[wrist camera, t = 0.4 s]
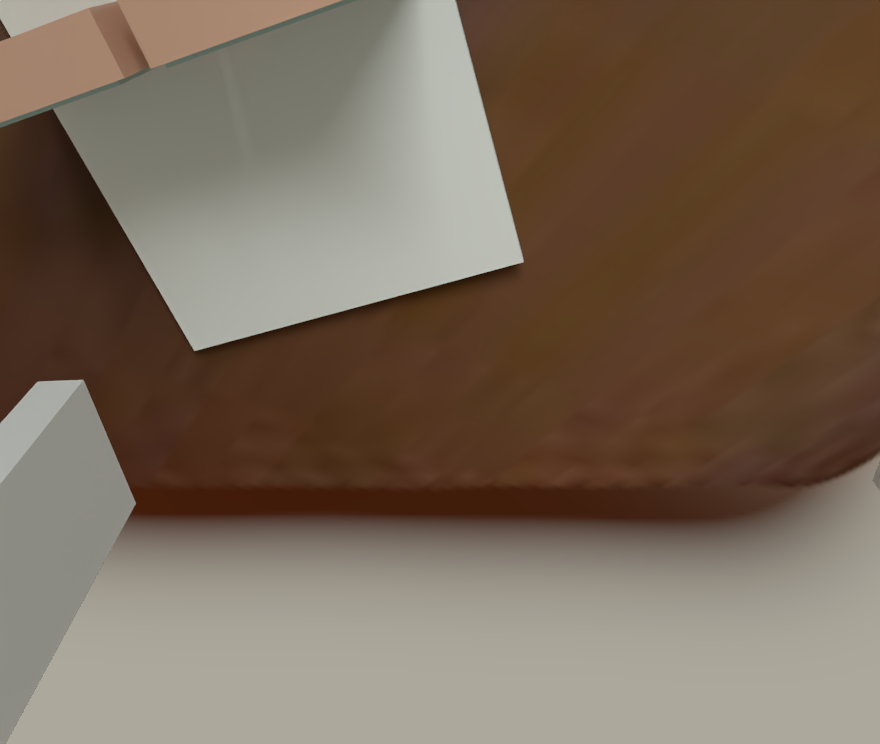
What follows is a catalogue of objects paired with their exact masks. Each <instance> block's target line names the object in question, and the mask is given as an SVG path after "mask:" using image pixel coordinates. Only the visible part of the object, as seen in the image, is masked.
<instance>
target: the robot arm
mask: <svg viewBox="0 0 880 744" xmlns="http://www.w3.org/2000/svg"><path fill="white" fill-rule="evenodd" d="M873 482H874V483H875V484H876V486H877V487H878V489H879V490H880V462H879V465H878V468H877V470H876V473H875V476H874V478H873ZM135 504H136V503H135V500H134V498H133V496H132V493H131V491H130V489H129V486H128V484H127V481H126V479H125V477H124V474H123V472H122V470H121V467H120V465H119V463H118V460H117V458H116V456H115V453H114V451H113V448H112V446H111V444H110V441H109V439H108V437H107V434H106V432H105V430H104V427H103V425H102V423H101V420H100V418H99V415H98V413H97V411H96V408H95V406H94V404H93V401H92V399H91V397H90V394H89V392H88V389H87V387H86V385H85V382H84V380H66V381H42V382H37V383H36V384H35V385H34V386H33V387H32V388H31V390H30V391H29V392H28V393H27V394H26V395H25V396H24V397H23V399H22V400H21V401H20V402H19V403H18V404H17V405H16V406H15V408H14V409H13V410H12V411H11V412H10V413H9V414H8V415H7V416H6V418H5V419H4V420H3V421H2V422H1V423H0V744H6V742H7V740H8V739H9V737H10V735H11V733H12V731H13V729H14V727H15V726H16V724H17V722H18V720H19V718H20V716H21V715H22V713H23V711H24V709H25V707H26V705H27V703H28V701H29V700H30V698H31V696H32V694H33V692H34V691H35V689H36V687H37V685H38V683H39V681H40V680H41V678H42V676H43V674H44V672H45V670H46V668H47V667H48V665H49V663H50V661H51V659H52V657H53V656H54V654H55V652H56V650H57V648H58V646H59V644H60V643H61V641H62V639H63V637H64V635H65V633H66V632H67V630H68V628H69V626H70V624H71V622H72V620H73V619H74V617H75V615H76V613H77V611H78V609H79V607H80V606H81V604H82V602H83V600H84V598H85V596H86V595H87V593H88V591H89V589H90V587H91V585H92V583H93V582H94V580H95V578H96V575H97V574H98V572H99V570H100V569H101V567H102V565H103V563H104V561H105V559H106V558H107V556H108V553H109V552H110V550H111V548H112V546H113V545H114V543H115V541H116V539H117V537H118V535H119V533H120V532H121V530H122V528H123V526H124V524H125V522H126V521H127V519H128V517H129V515H130V513H131V512H132V509H133V507H134V506H135Z"/></svg>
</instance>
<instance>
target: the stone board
mask: <svg viewBox="0 0 880 744" xmlns="http://www.w3.org/2000/svg"><path fill="white" fill-rule="evenodd" d="M116 1H117V0H0V19H1V21H2V23H3V24H4V26H5V28H6V30H7V31H8V33H9V35H10V36H11V37H14V36H16V35H19V34H21V33H24V32H27V31H29V30H32V29H34V28H37V27H40V26H42V25H45V24H47V23H50V22H53V21H55V20H58V19H61V18H63V17H66V16H68V15H71V14H74V13H76V12H79V11H81V10H84V9H87V8H90V7H94V6H99V5H103V4H107V3H112V2H116ZM53 110H54V112H55V113H56V115H57V117H58V119H59V120H60V122H61V124H62V125H63V127H64V129H65V130H66V132H67V134H68V136H69V137H70V139H71V141H72V142H73V144H74V146H75V148H76V149H77V151H78V153H79V154H80V156H81V158H82V160H83V161H84V163H85V165H86V166H87V168H88V170H89V172H90V173H91V175H92V177H93V178H94V180H95V182H96V184H97V185H98V187H99V189H100V190H101V192H102V194H103V196H104V197H105V199H106V201H107V202H108V204H109V206H110V208H111V209H112V211H113V213H114V214H115V216H116V218H117V220H118V221H119V223H120V225H121V226H122V228H123V230H124V231H125V233H126V235H127V237H128V238H129V240H130V242H131V243H132V245H133V247H134V249H135V250H136V252H137V254H138V255H139V257H140V259H141V261H142V262H143V264H144V266H145V267H146V269H147V271H148V273H149V274H150V276H151V278H152V279H153V281H154V283H155V285H156V286H157V288H158V290H159V291H160V293H161V295H162V297H163V298H164V300H165V302H166V303H167V305H168V307H169V309H170V310H171V312H172V314H173V315H174V317H175V319H176V320H177V322H178V324H179V326H180V327H181V329H182V331H183V332H184V334H185V336H186V338H187V339H188V341H189V343H190V344H191V346H192V348H193V350H194V351H197V350H200V349H204V348H208V347H211V346H215V345H219V344H223V343H226V342H230V341H234V340H237V339H241V338H245V337H248V336H252V335H256V334H260V333H263V332H267V331H271V330H274V329H278V328H282V327H285V326H289V325H293V324H297V323H300V322H304V321H308V320H311V319H315V318H319V317H322V316H326V315H330V314H334V313H337V312H341V311H345V310H348V309H352V308H356V307H360V306H363V305H367V304H371V303H374V302H378V301H382V300H385V299H389V298H393V297H397V296H400V295H404V294H408V293H411V292H415V291H419V290H422V289H426V288H430V287H434V286H437V285H441V284H445V283H448V282H452V281H456V280H459V279H463V278H467V277H471V276H474V275H478V274H482V273H485V272H489V271H493V270H496V269H500V268H504V267H508V266H511V265H515V264H519V263H522V262H524V260H523V255H522V251H521V247H520V243H519V239H518V235H517V231H516V228H515V224H514V220H513V216H512V212H511V209H510V205H509V201H508V197H507V193H506V189H505V186H504V182H503V178H502V174H501V170H500V167H499V163H498V159H497V155H496V151H495V147H494V144H493V140H492V136H491V132H490V128H489V125H488V121H487V117H486V113H485V109H484V105H483V102H482V98H481V94H480V90H479V86H478V83H477V79H476V75H475V71H474V67H473V64H472V60H471V56H470V52H469V48H468V44H467V41H466V37H465V33H464V29H463V25H462V22H461V18H460V14H459V10H458V6H457V2H456V0H357V1H354V2H351V3H349V4H346V5H343V6H340V7H337V8H334V9H332V10H329V11H326V12H323V13H320V14H318V15H315V16H312V17H309V18H306V19H304V20H301V21H298V22H295V23H292V24H290V25H287V26H284V27H281V28H278V29H276V30H273V31H270V32H267V33H264V34H261V35H259V36H256V37H253V38H250V39H247V40H245V41H242V42H239V43H236V44H233V45H231V46H228V47H225V48H222V49H219V50H217V51H214V52H211V53H208V54H205V55H203V56H200V57H197V58H194V59H191V60H188V61H186V62H183V63H180V64H177V65H174V66H172V67H169V68H167V67H166V65H165V64H163V65H161V66H159V67H157V68H155V69H152V70H150V71H148V72H146V73H144V74H142V75H140V76H138V77H136V78H134V79H131V80H129V81H127V82H125V83H123V84H121V85H118V86H115V87H113V88H110V89H107V90H104V91H101V92H99V93H96V94H93V95H90V96H87V97H85V98H82V99H79V100H76V101H73V102H71V103H68V104H65V105H62V106H59V107H57V108H54V109H53Z"/></svg>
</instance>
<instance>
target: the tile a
mask: <svg viewBox="0 0 880 744" xmlns="http://www.w3.org/2000/svg"><path fill="white" fill-rule="evenodd" d="M160 66H161V65H160ZM158 67H159V66H158ZM155 68H157V67H155ZM155 68H152V69H155ZM152 69H151V68H150V66H149V64H148V62H147V60H146V58H145V56H144V54H143V52H142V50H141V48H140V46H139V44H138V42H137V40H136V38H135V36H134V34H133V32H132V30H131V28H130V26H129V24H128V22H127V20H126V18H125V16H124V14H123V12H122V10H121V8H120V6H119V4H118V2H117V1H116V2H112V3H107V4H103V5H99V6H94V7H90V8H87V9H84V10H81V11H79V12H76V13H74V14H71V15H68V16H66V17H63V18H61V19H58V20H55V21H53V22H50V23H47V24H45V25H42V26H40V27H37V28H34V29H32V30H29V31H27V32H24V33H21V34H19V35H16V36H14V37H11V38H8V39H6V40H3V41H0V127H3V126H6V125H9V124H12V123H14V122H17V121H20V120H23V119H26V118H28V117H31V116H34V115H37V114H40V113H42V112H45V111H48V110H51V109H54V108H57V107H59V106H62V105H65V104H68V103H71V102H73V101H76V100H79V99H82V98H85V97H87V96H90V95H93V94H96V93H99V92H101V91H104V90H107V89H110V88H113V87H115V86H118V85H121V84H123V83H125V82H127V81H129V80H131V79H134V78H136V77H138V76H140V75H142V74H144V73H146V72H148V71H150V70H152Z"/></svg>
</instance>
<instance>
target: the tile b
mask: <svg viewBox="0 0 880 744" xmlns="http://www.w3.org/2000/svg"><path fill="white" fill-rule="evenodd" d="M354 1H357V0H117V2H118V4H119V6H120V8H121V10H122V12H123V14H124V16H125V18H126V20H127V22H128V24H129V26H130V28H131V30H132V32H133V34H134V36H135V38H136V40H137V42H138V44H139V46H140V48H141V50H142V52H143V54H144V56H145V58H146V60H147V62H148V64H149V66H150V68H151V69H152V68H155V67H158V66H160V65H163V64H165V65H166V67H167V68H169V67H172V66H174V65H177V64H180V63H183V62H186V61H188V60H191V59H194V58H197V57H200V56H203V55H205V54H208V53H211V52H214V51H217V50H219V49H222V48H225V47H228V46H231V45H233V44H236V43H239V42H242V41H245V40H247V39H250V38H253V37H256V36H259V35H261V34H264V33H267V32H270V31H273V30H276V29H278V28H281V27H284V26H287V25H290V24H292V23H295V22H298V21H301V20H304V19H306V18H309V17H312V16H315V15H318V14H320V13H323V12H326V11H329V10H332V9H334V8H337V7H340V6H343V5H346V4H349V3H351V2H354Z"/></svg>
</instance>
